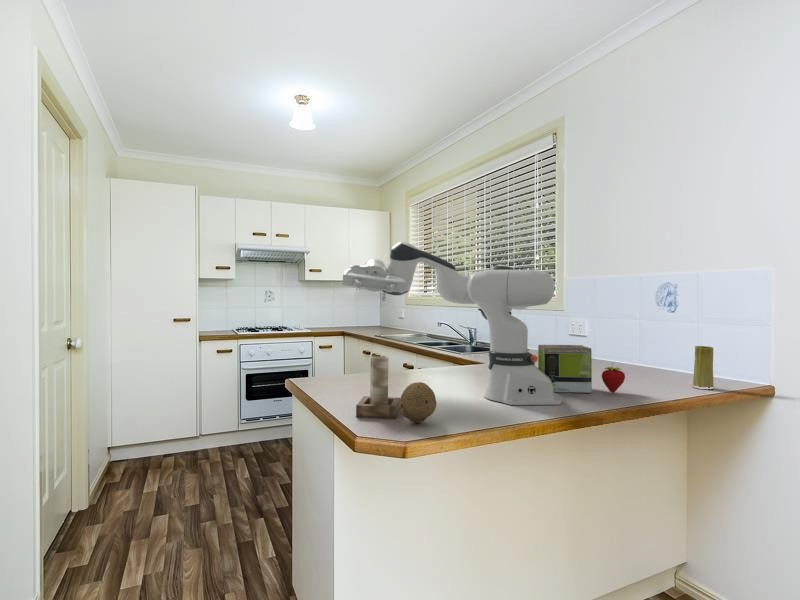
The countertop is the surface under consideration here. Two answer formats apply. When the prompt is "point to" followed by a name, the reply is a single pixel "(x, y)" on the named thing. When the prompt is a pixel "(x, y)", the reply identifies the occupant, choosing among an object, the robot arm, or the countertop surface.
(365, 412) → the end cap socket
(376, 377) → the beige tall block
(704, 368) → the vase
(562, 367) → the tea box
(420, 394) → the natural sponge
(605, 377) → the strawberry
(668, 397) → the countertop surface
